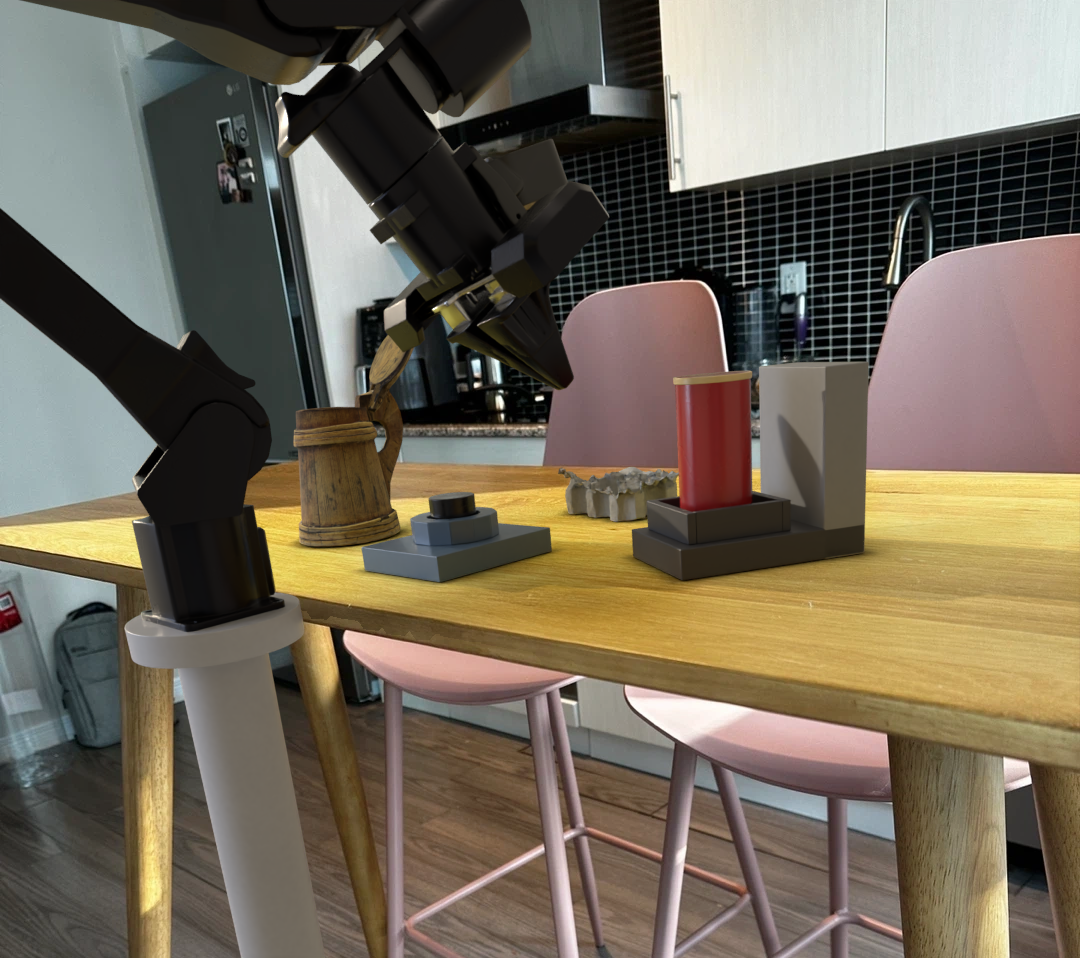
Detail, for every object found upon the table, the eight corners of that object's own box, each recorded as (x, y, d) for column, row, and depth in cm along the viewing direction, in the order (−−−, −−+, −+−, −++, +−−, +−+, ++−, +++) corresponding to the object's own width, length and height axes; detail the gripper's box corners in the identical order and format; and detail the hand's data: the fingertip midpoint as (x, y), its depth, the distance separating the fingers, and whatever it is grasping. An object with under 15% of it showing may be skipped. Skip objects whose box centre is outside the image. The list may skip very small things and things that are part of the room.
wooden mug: (462, 524, 93) (438, 311, 87) (323, 551, 86) (286, 322, 80) (416, 516, 100) (391, 319, 94) (284, 540, 93) (248, 329, 87)
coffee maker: (682, 580, 65) (674, 382, 61) (632, 557, 73) (622, 380, 69) (864, 553, 68) (869, 361, 64) (797, 533, 76) (797, 362, 72)
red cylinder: (725, 539, 66) (720, 376, 63) (664, 534, 69) (657, 379, 66) (769, 525, 69) (767, 369, 66) (709, 521, 73) (704, 372, 69)
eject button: (451, 524, 74) (448, 500, 73) (421, 522, 76) (419, 498, 76) (486, 516, 76) (483, 492, 76) (456, 514, 79) (454, 491, 78)
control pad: (440, 582, 71) (433, 532, 70) (364, 570, 77) (357, 524, 76) (552, 551, 78) (548, 504, 77) (474, 542, 84) (469, 499, 83)
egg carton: (556, 513, 95) (552, 468, 93) (624, 500, 98) (621, 456, 97) (619, 524, 86) (616, 474, 85) (691, 510, 89) (689, 462, 88)
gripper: (576, 14, 54) (732, 266, 61) (418, 146, 69) (557, 334, 77) (448, 144, 50) (629, 393, 58) (312, 251, 66) (469, 436, 73)
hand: (567, 384), depth 67 cm, fingers closed
